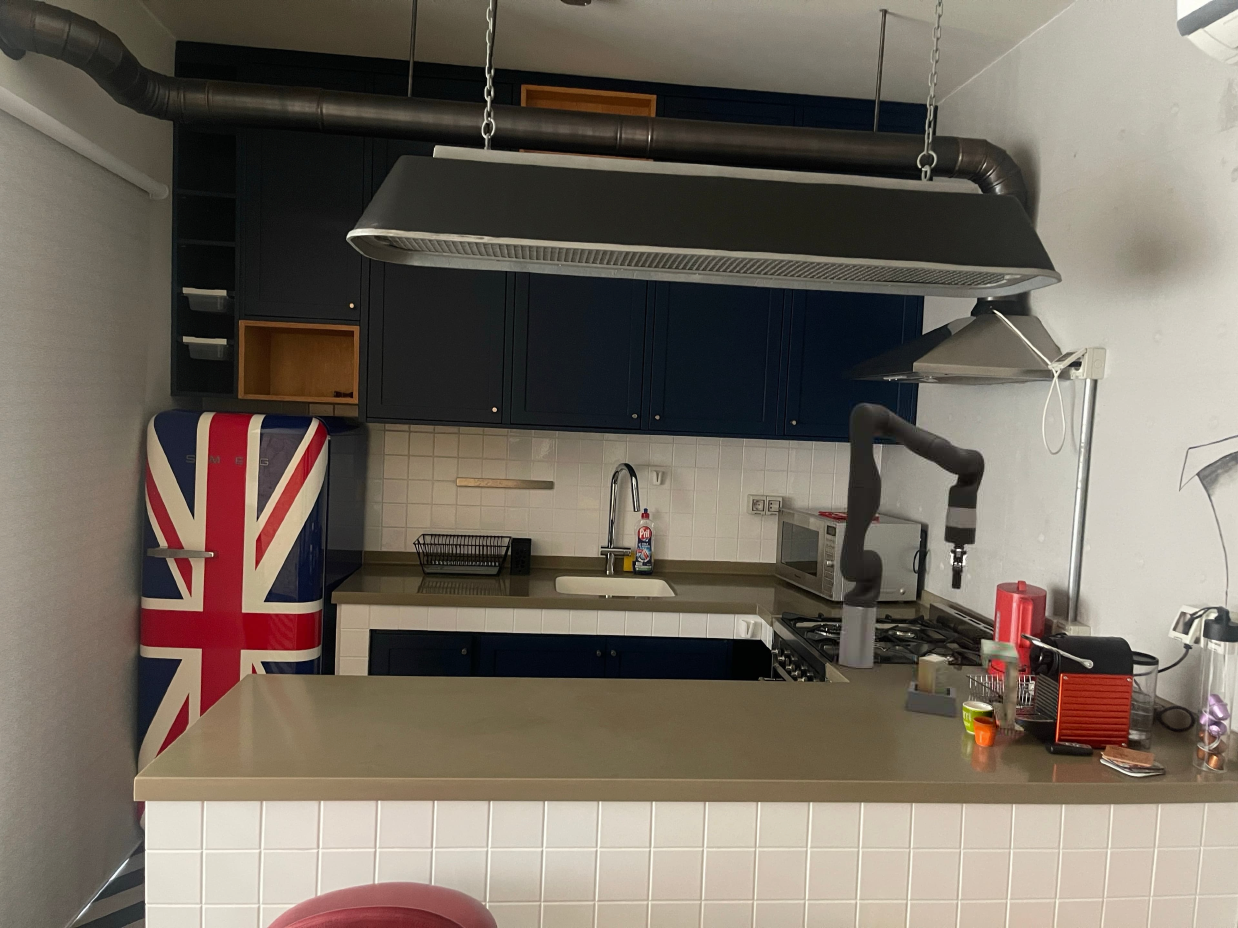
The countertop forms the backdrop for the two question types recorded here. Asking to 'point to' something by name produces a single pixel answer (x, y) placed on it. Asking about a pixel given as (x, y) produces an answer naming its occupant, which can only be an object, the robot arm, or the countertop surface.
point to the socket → (931, 701)
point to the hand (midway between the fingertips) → (956, 586)
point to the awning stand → (1011, 658)
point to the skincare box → (933, 675)
